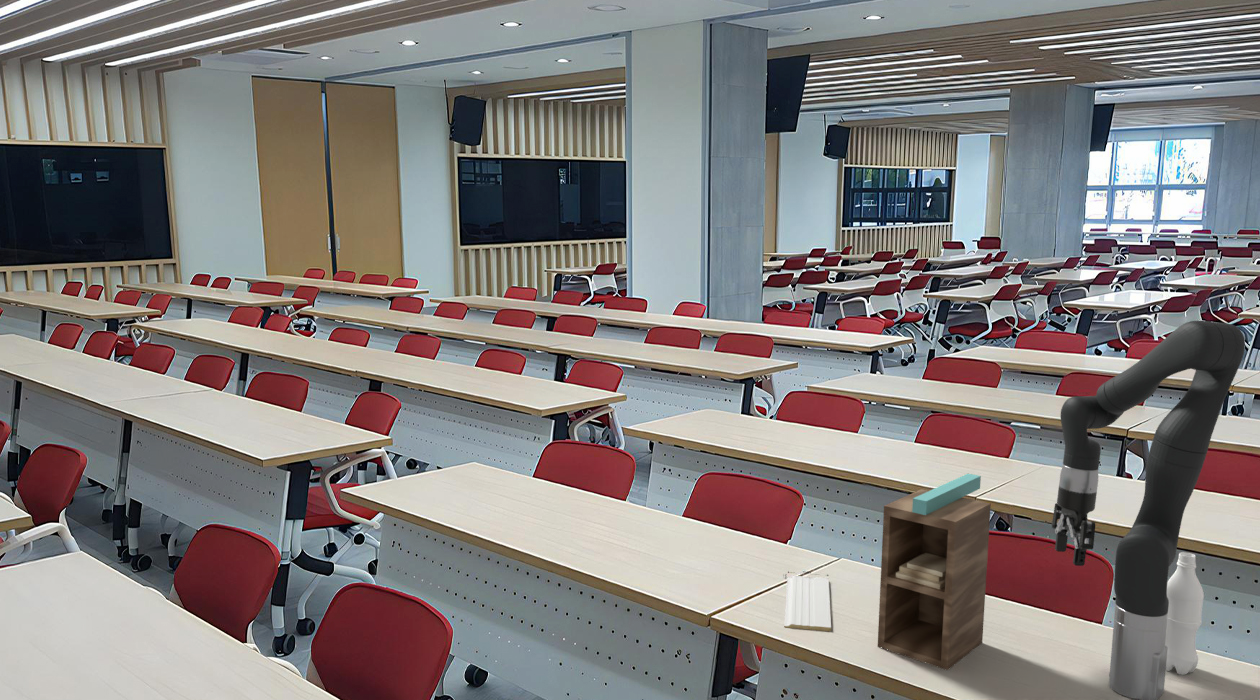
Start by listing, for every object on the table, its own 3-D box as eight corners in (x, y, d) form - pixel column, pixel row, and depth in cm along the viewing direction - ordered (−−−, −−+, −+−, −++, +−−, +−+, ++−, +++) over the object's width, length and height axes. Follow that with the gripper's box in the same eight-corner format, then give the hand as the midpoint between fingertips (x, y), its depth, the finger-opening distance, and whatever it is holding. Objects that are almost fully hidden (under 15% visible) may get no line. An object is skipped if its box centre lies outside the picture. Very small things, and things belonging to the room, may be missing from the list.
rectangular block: (980, 488, 218) (980, 475, 218) (925, 515, 198) (926, 501, 197) (967, 486, 220) (968, 473, 220) (912, 512, 200) (912, 498, 199)
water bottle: (1152, 668, 199) (1162, 554, 196) (1163, 658, 204) (1173, 546, 201) (1191, 680, 194) (1201, 563, 190) (1201, 669, 199) (1212, 555, 195)
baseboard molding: (777, 629, 218) (830, 634, 216) (778, 617, 218) (831, 621, 216) (781, 580, 248) (828, 583, 246) (782, 569, 248) (828, 573, 246)
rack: (982, 642, 211) (990, 503, 206) (947, 670, 197) (955, 521, 193) (914, 622, 221) (921, 489, 217) (877, 646, 208) (884, 505, 204)
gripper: (1111, 497, 198) (1102, 571, 201) (1079, 478, 212) (1070, 547, 215) (1076, 495, 198) (1067, 569, 200) (1046, 476, 212) (1038, 545, 215)
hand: (1069, 557), depth 208 cm, fingers open, 8 cm apart
